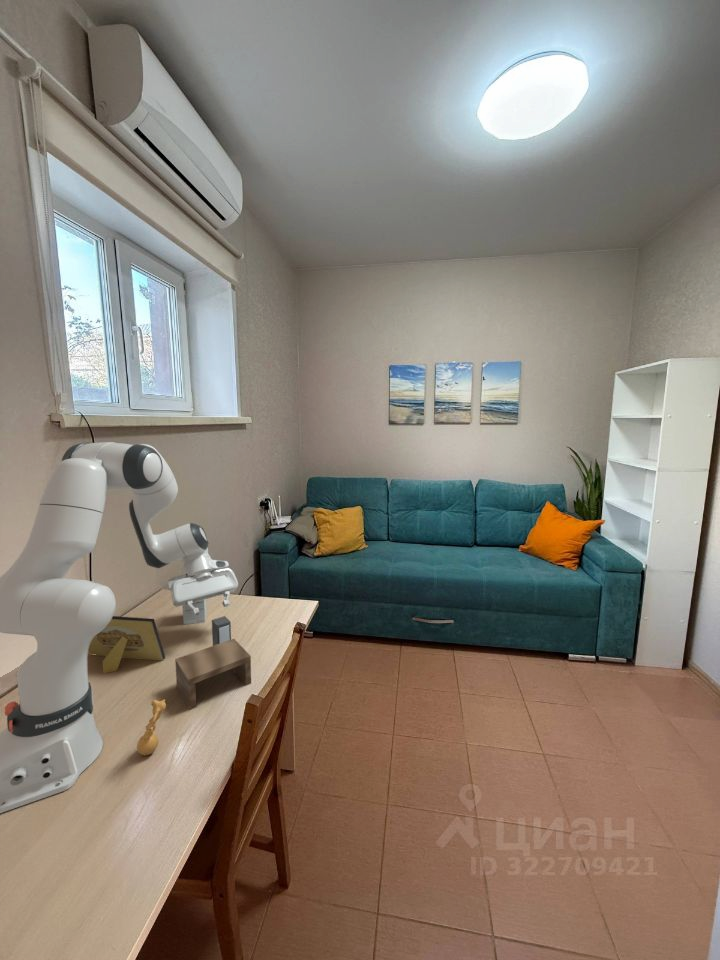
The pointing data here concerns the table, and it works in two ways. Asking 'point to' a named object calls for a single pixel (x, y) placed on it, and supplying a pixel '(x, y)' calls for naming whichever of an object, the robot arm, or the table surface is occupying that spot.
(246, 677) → the walnut shelf
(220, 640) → the tall grey pillar block
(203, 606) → the supplement box
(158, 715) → the figurine
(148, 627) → the picture frame
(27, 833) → the table surface
